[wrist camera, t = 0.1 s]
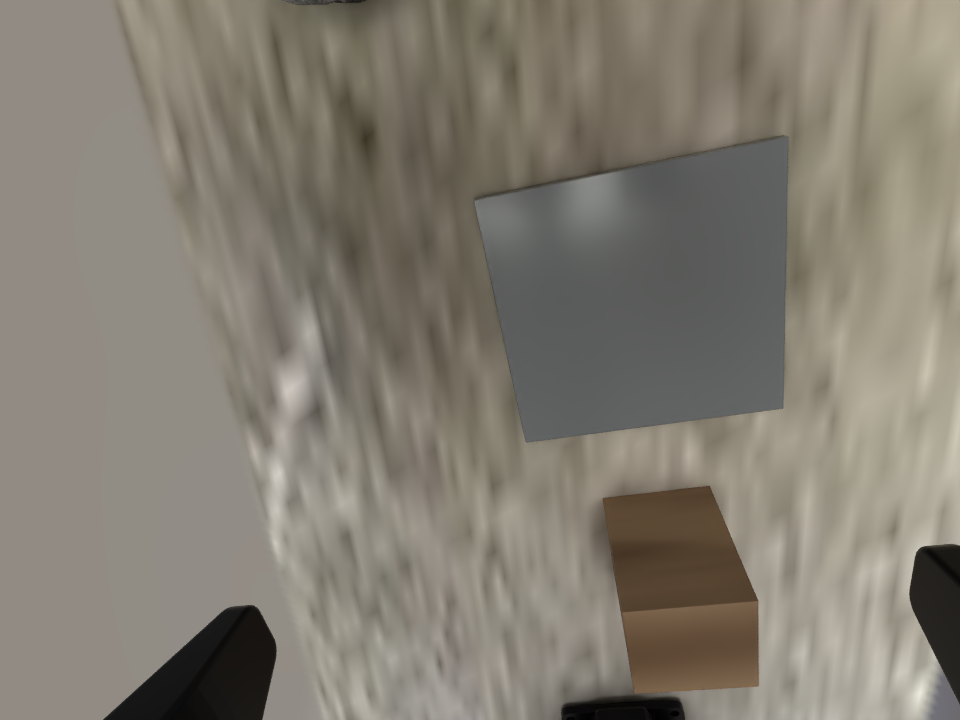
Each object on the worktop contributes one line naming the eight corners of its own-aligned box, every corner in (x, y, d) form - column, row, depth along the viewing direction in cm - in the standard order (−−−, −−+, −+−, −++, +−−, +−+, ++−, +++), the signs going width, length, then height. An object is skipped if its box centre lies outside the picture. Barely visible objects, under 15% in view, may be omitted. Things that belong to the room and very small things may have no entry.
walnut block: (712, 562, 27) (758, 686, 22) (614, 571, 28) (634, 694, 22) (709, 485, 25) (758, 600, 20) (602, 497, 26) (622, 612, 20)
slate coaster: (779, 403, 23) (783, 408, 22) (526, 436, 24) (525, 442, 24) (783, 135, 18) (788, 136, 18) (474, 198, 20) (474, 200, 20)
